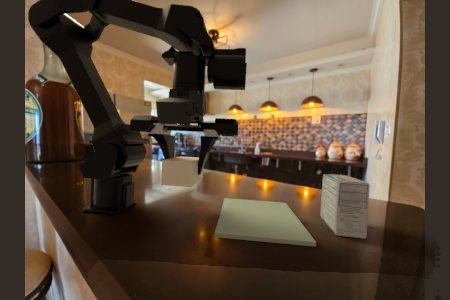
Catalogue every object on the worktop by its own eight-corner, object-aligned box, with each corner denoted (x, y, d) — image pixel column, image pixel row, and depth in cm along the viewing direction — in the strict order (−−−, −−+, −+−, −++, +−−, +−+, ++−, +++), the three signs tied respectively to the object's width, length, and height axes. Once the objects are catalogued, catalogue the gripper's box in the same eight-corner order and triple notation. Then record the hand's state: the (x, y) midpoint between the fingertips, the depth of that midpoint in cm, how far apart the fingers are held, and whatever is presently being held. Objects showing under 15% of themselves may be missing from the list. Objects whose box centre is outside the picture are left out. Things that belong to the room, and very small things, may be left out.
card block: (161, 184, 30) (162, 160, 30) (179, 175, 39) (180, 156, 39) (191, 187, 29) (192, 162, 29) (202, 177, 38) (203, 157, 38)
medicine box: (367, 240, 28) (371, 183, 27) (334, 236, 29) (338, 180, 28) (344, 219, 35) (347, 175, 35) (319, 216, 36) (322, 173, 36)
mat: (214, 237, 26) (214, 232, 26) (224, 200, 43) (224, 198, 43) (316, 246, 25) (316, 242, 25) (285, 205, 42) (285, 202, 42)
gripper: (108, 69, 26) (105, 178, 27) (240, 71, 25) (234, 187, 25) (147, 91, 37) (144, 168, 38) (240, 94, 36) (235, 174, 36)
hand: (185, 173), depth 34 cm, fingers closed on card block, 5 cm apart
